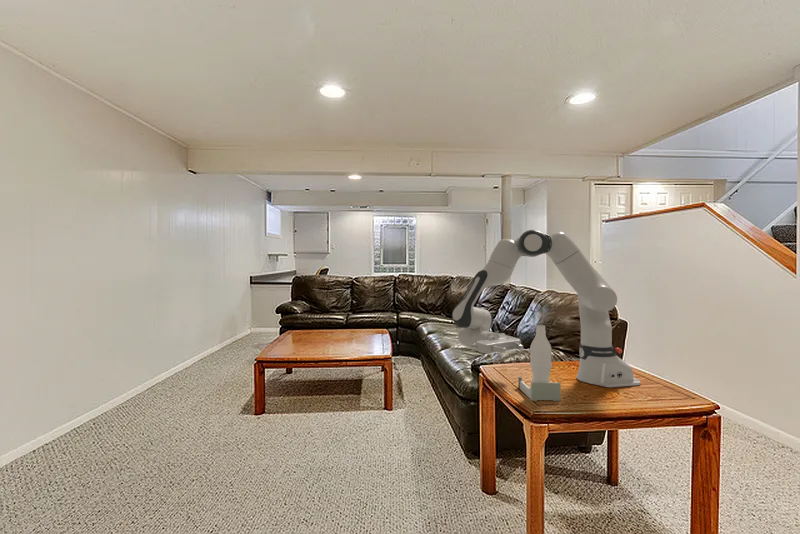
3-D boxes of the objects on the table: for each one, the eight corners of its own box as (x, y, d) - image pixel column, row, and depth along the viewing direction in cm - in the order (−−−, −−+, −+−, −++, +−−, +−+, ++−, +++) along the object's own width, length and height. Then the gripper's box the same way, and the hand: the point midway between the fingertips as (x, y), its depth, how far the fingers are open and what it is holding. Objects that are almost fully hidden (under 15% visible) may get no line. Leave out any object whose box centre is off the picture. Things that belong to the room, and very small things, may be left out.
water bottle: (532, 399, 128) (532, 327, 128) (528, 391, 135) (528, 323, 135) (554, 399, 127) (554, 327, 127) (548, 392, 134) (548, 324, 134)
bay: (544, 387, 141) (544, 371, 141) (560, 400, 127) (560, 383, 127) (518, 387, 141) (518, 371, 141) (532, 400, 127) (532, 383, 126)
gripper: (468, 337, 149) (493, 343, 137) (505, 332, 159) (531, 338, 147) (468, 352, 149) (493, 360, 137) (505, 347, 159) (531, 354, 147)
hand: (513, 349), depth 142 cm, fingers open, 8 cm apart
